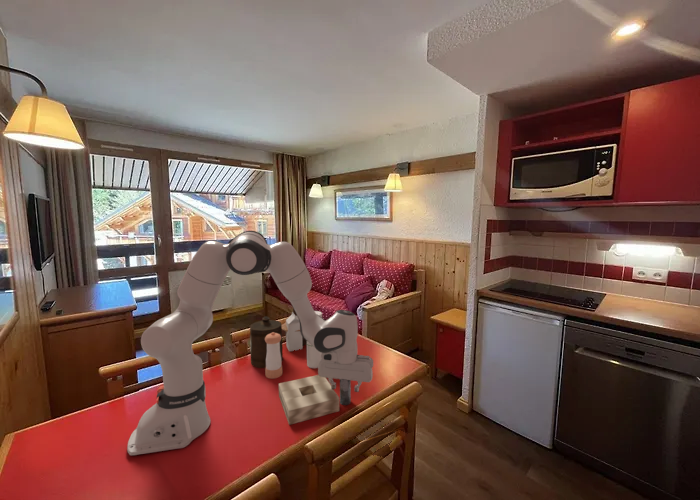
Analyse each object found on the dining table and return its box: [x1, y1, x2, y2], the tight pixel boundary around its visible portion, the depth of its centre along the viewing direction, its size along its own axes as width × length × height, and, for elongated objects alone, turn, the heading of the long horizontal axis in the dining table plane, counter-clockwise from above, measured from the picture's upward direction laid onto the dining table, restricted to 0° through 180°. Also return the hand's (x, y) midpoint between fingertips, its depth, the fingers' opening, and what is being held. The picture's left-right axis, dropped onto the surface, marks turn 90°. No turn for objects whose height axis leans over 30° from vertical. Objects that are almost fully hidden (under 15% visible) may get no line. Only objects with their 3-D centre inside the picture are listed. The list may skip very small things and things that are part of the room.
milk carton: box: [285, 311, 303, 352], centre depth 156 cm, size 7×7×19 cm
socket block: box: [278, 374, 340, 426], centre depth 110 cm, size 18×18×5 cm
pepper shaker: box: [264, 332, 283, 380], centre depth 130 cm, size 7×7×19 cm
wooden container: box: [249, 316, 284, 369], centre depth 142 cm, size 15×15×22 cm
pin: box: [339, 379, 352, 406], centre depth 110 cm, size 4×4×10 cm
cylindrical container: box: [306, 310, 323, 369], centre depth 138 cm, size 7×7×25 cm
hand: (345, 389), depth 110 cm, fingers open, 7 cm apart
